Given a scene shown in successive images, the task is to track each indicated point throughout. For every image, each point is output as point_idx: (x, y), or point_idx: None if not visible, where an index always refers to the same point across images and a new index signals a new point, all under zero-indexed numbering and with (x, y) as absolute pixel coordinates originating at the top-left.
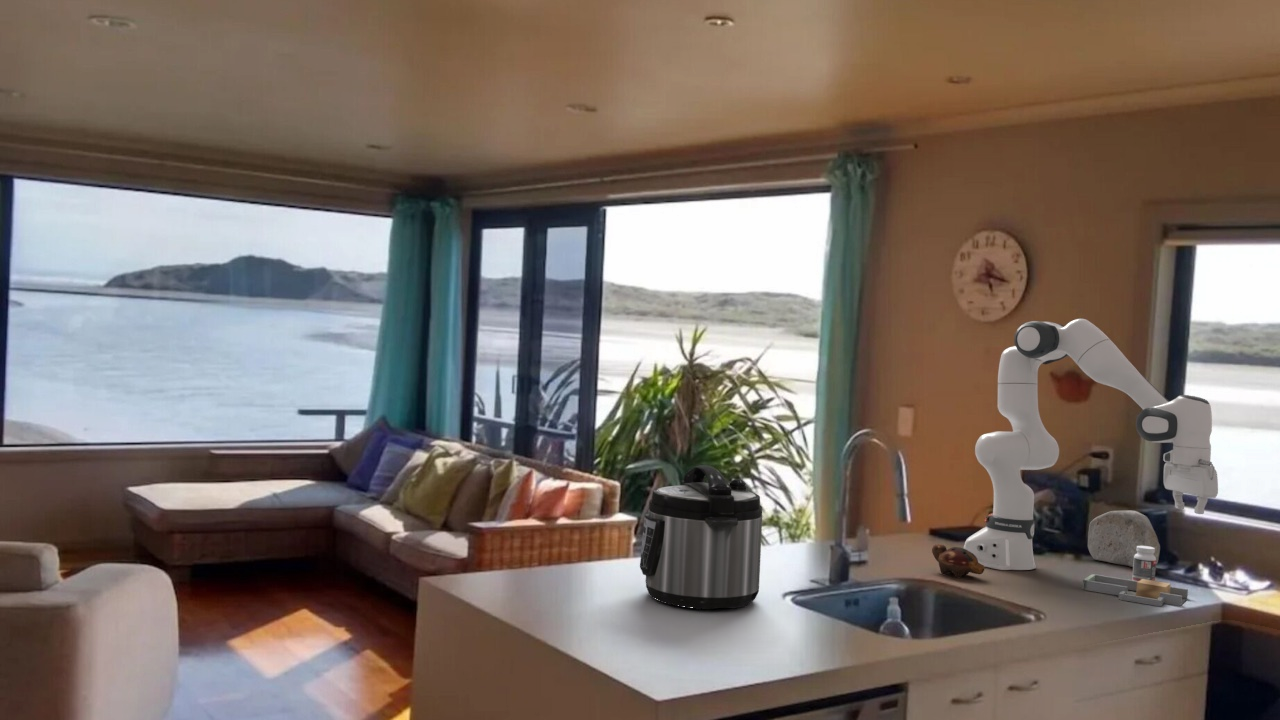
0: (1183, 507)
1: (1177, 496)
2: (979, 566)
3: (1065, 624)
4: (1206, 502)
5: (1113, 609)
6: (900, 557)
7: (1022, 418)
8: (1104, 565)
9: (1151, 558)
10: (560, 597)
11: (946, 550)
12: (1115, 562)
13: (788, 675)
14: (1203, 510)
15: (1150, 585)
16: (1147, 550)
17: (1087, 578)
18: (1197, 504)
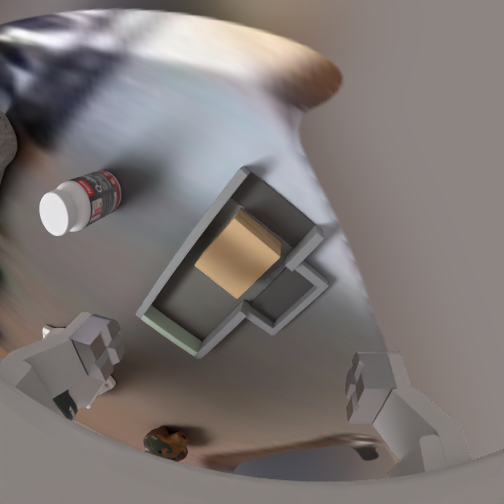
0: (112, 327)
1: (48, 383)
2: (185, 443)
3: None
4: (451, 422)
5: (344, 366)
6: (106, 428)
7: None
8: (13, 202)
9: (85, 202)
10: None
11: None
12: (1, 178)
13: None
14: (404, 371)
15: (256, 279)
16: (71, 219)
17: (182, 345)
18: (393, 439)
